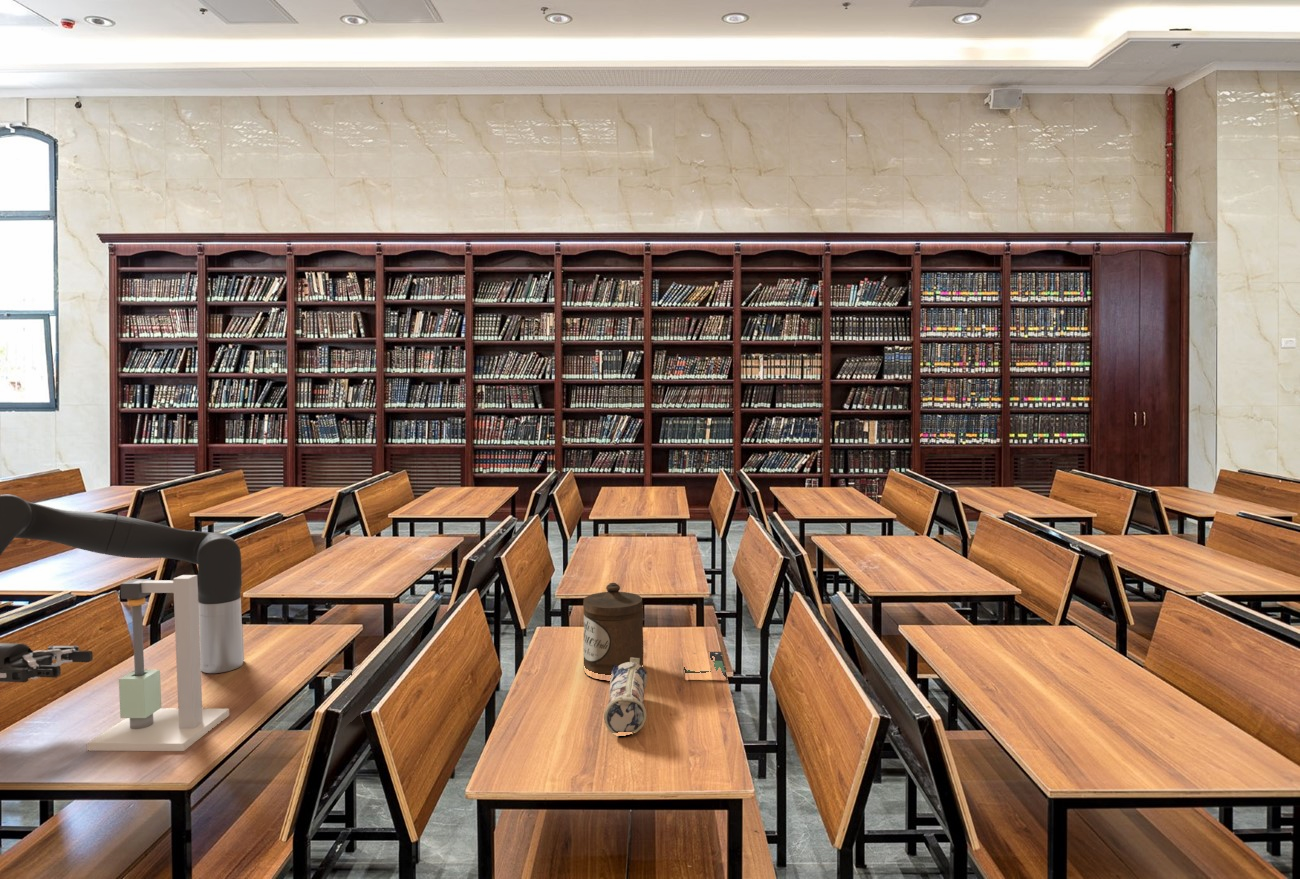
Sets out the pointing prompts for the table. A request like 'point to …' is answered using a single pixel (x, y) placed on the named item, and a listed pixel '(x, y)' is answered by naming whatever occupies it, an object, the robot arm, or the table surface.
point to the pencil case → (626, 698)
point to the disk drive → (718, 663)
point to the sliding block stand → (189, 719)
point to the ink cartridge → (340, 678)
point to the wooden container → (612, 629)
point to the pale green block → (140, 694)
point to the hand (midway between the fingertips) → (75, 663)
